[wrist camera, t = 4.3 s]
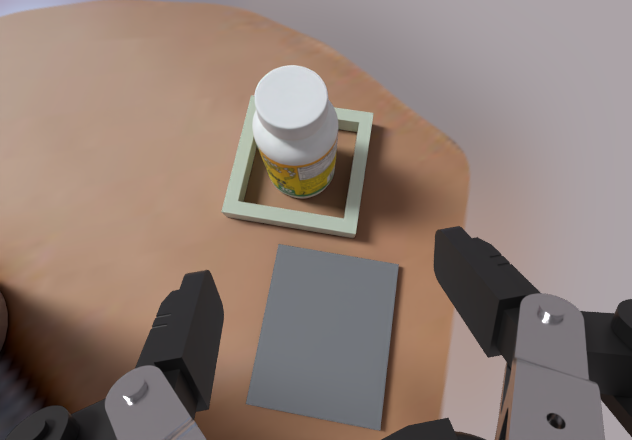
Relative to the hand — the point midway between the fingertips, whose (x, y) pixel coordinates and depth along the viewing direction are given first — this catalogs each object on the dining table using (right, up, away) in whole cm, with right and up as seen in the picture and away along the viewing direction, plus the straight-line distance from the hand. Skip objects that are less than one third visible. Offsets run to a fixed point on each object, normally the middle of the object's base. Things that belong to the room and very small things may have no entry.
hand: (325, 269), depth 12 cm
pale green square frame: (-1, +6, +15) cm, 16 cm away
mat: (0, -6, +12) cm, 14 cm away
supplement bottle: (-1, +6, +16) cm, 17 cm away
